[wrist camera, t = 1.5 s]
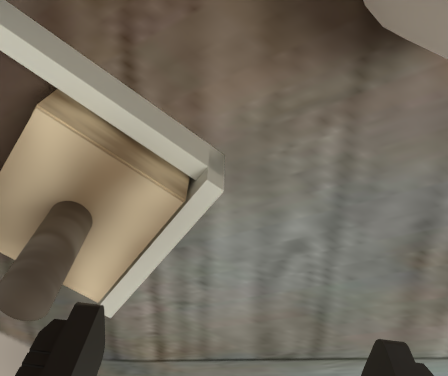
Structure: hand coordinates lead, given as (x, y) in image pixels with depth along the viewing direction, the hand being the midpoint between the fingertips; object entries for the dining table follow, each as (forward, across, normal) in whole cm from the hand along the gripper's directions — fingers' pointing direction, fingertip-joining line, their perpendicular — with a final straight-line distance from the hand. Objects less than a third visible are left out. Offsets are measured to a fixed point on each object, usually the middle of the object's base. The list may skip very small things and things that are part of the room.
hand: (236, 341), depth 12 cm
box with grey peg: (+23, +11, +7) cm, 26 cm away
